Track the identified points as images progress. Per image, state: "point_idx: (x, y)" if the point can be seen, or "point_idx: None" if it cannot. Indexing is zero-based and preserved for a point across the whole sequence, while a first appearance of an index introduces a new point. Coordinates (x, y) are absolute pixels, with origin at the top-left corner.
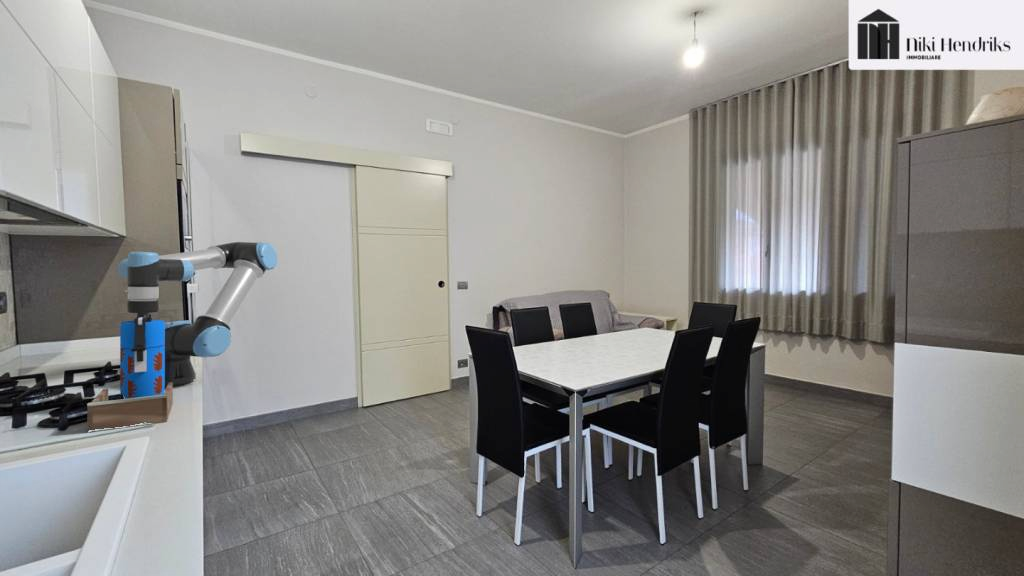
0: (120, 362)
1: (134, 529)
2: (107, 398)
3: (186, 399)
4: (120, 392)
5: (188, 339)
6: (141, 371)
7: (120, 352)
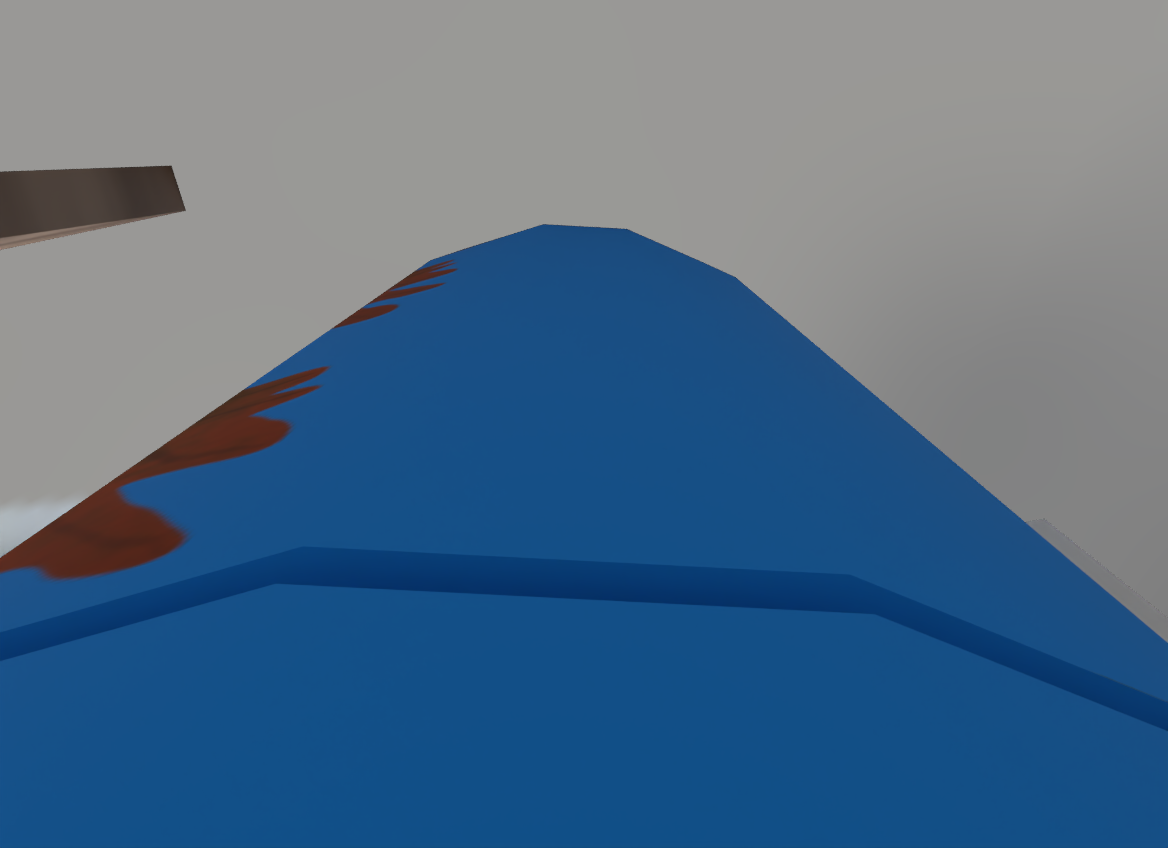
0: (245, 391)
1: None
2: (33, 236)
3: None
4: (439, 257)
5: None
6: None
7: (15, 552)
